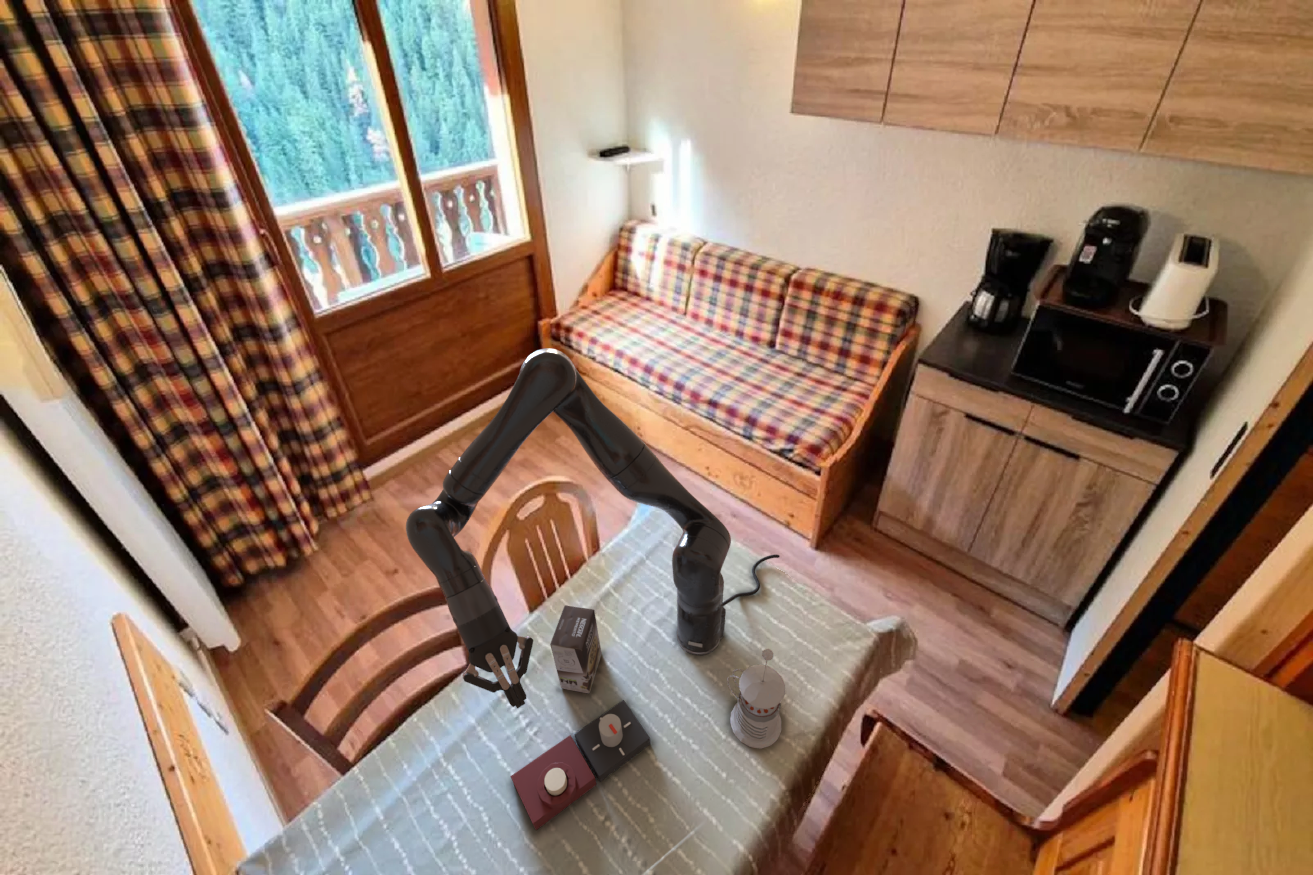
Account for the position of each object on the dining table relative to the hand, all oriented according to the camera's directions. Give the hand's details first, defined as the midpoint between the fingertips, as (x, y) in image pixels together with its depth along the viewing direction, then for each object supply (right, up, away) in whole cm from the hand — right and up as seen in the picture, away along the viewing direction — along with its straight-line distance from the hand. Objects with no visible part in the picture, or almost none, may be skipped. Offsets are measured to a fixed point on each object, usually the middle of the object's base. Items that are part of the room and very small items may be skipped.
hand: (520, 705), depth 97 cm
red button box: (+5, -17, +6) cm, 18 cm away
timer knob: (+15, -10, +9) cm, 20 cm away
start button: (+6, -14, +2) cm, 16 cm away
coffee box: (+8, -3, +22) cm, 24 cm away
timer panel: (+15, -12, +11) cm, 22 cm away
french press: (+41, -9, +14) cm, 45 cm away
